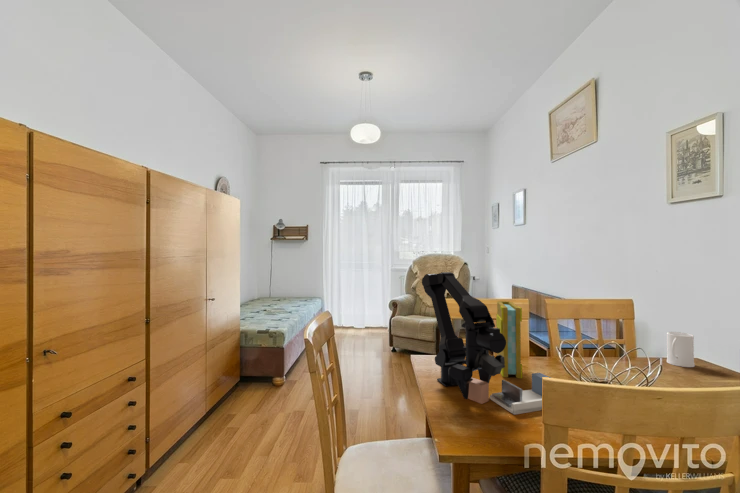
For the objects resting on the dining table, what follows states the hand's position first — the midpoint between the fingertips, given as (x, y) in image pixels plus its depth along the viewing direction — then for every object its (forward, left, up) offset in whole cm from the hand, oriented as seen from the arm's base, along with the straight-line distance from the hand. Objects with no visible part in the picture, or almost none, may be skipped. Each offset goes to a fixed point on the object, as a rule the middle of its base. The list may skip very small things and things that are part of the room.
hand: (475, 395), depth 109 cm
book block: (0, 0, -1) cm, 1 cm away
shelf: (+7, +13, -1) cm, 15 cm away
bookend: (+7, +6, 0) cm, 9 cm away
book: (-19, +27, -1) cm, 33 cm away
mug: (-4, +96, -1) cm, 96 cm away
